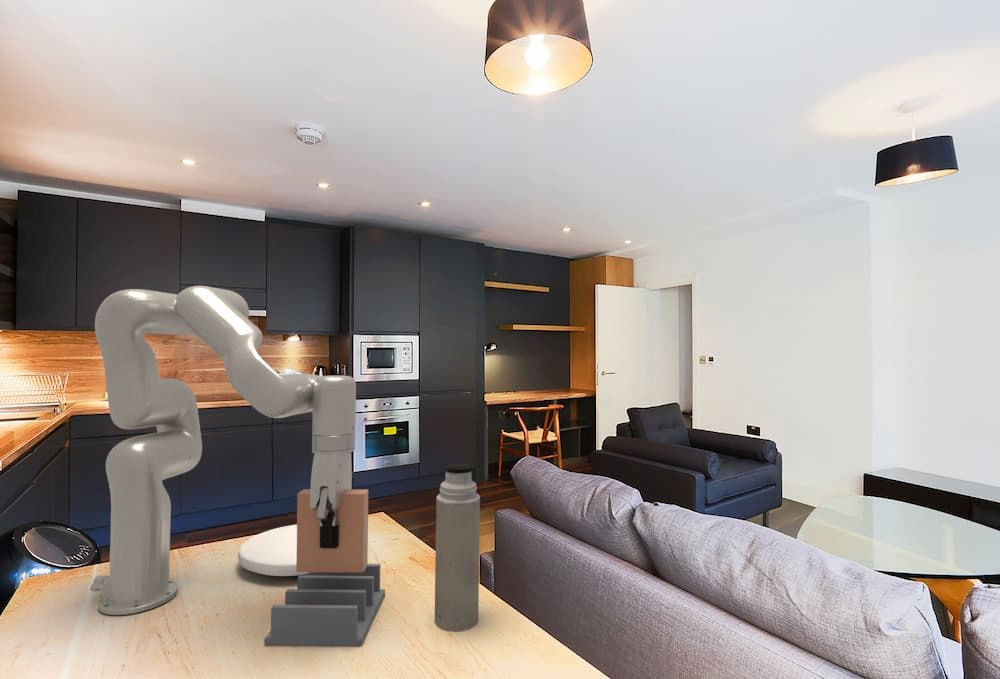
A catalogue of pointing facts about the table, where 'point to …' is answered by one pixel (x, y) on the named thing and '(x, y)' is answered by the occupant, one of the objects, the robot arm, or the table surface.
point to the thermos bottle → (457, 550)
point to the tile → (351, 535)
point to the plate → (271, 552)
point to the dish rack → (327, 609)
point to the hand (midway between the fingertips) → (332, 542)
